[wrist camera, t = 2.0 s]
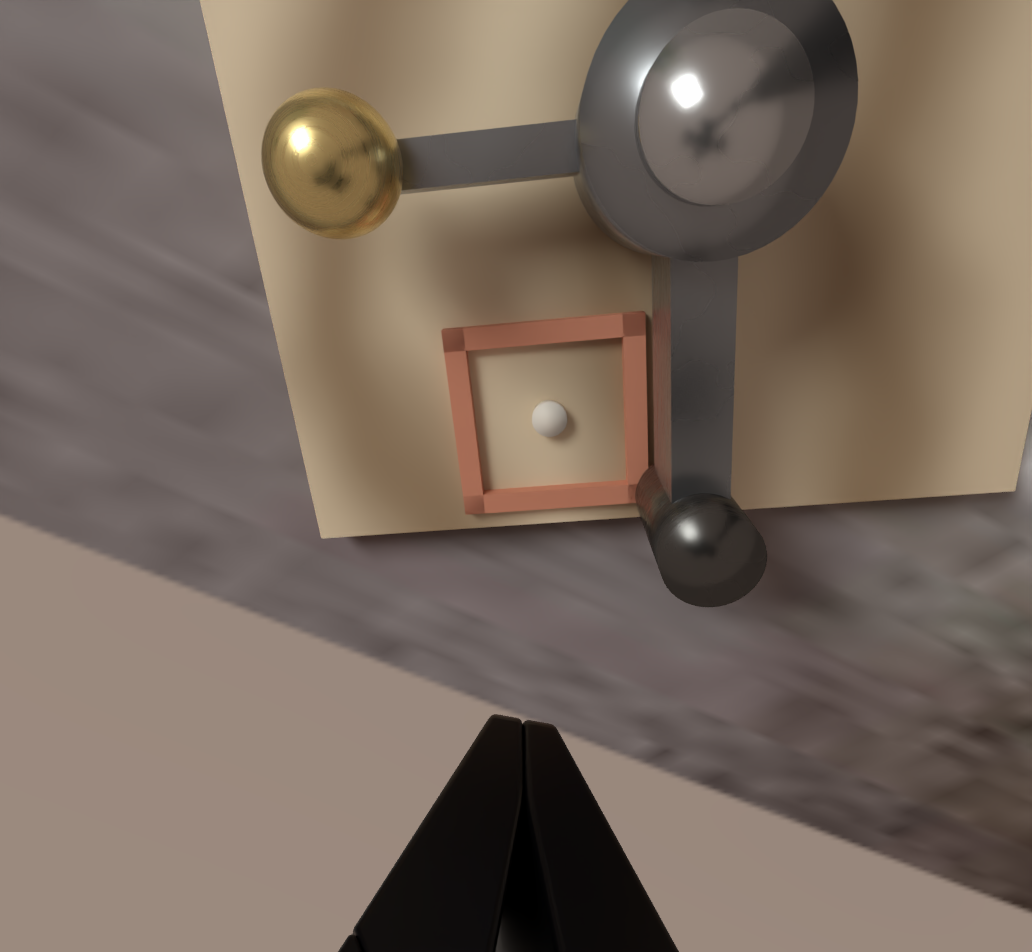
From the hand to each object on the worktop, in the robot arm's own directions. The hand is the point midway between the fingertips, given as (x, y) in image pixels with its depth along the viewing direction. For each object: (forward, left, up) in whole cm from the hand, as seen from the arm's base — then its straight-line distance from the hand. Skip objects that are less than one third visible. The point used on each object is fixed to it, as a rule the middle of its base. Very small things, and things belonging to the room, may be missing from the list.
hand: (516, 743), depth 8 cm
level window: (-1, -1, -11) cm, 11 cm away
